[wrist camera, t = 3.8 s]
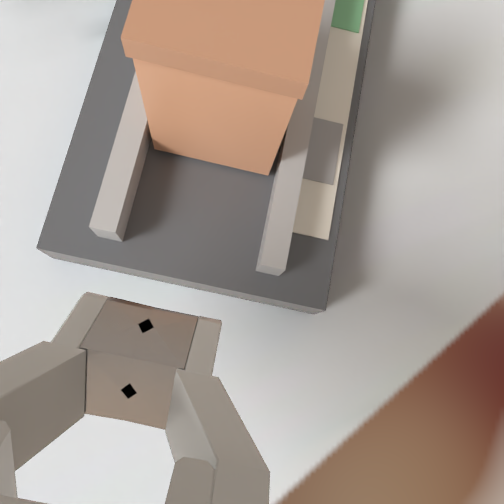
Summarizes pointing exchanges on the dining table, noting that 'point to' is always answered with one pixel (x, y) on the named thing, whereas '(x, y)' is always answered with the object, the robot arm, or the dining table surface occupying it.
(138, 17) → the switch tab
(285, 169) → the switch board
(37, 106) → the dining table surface
